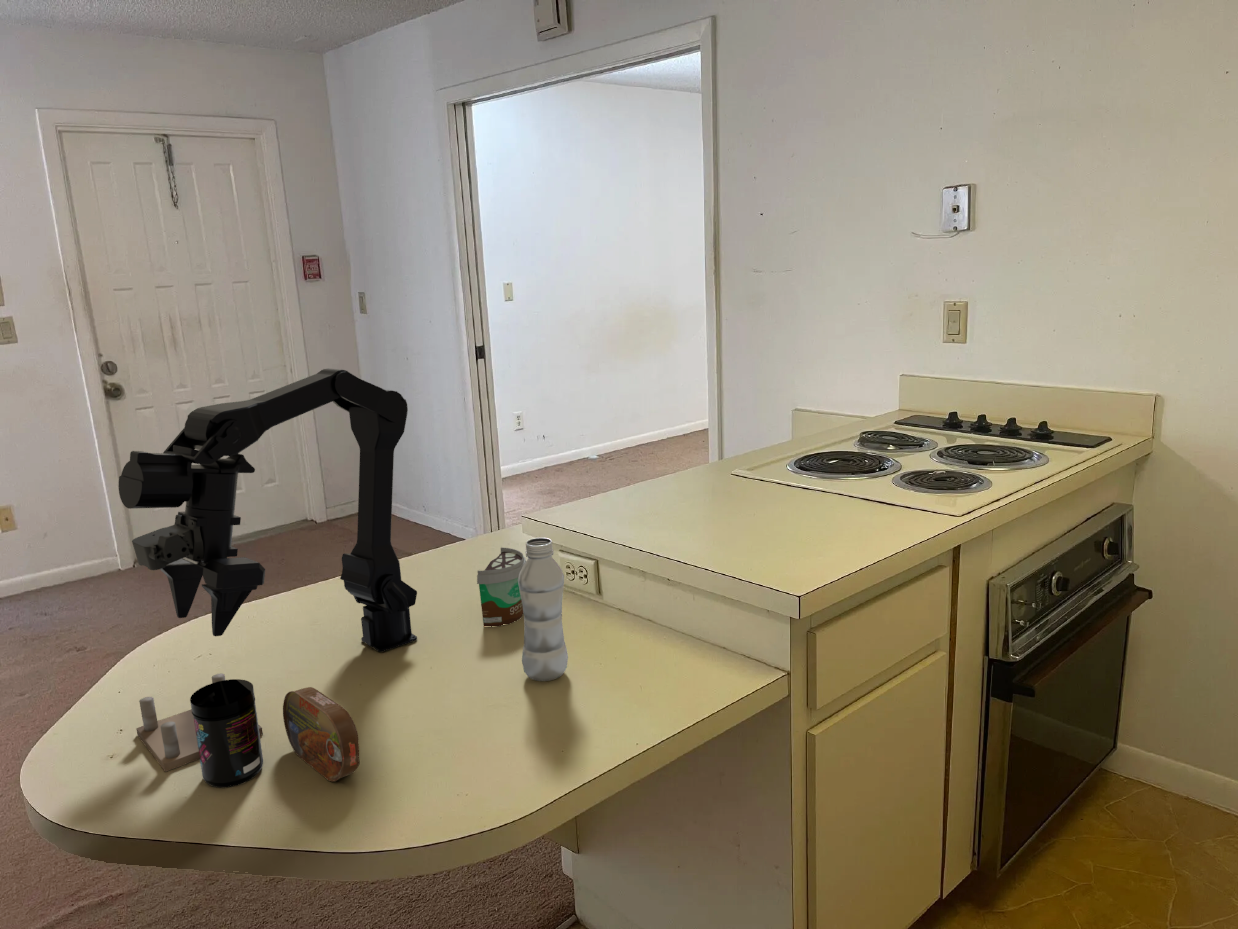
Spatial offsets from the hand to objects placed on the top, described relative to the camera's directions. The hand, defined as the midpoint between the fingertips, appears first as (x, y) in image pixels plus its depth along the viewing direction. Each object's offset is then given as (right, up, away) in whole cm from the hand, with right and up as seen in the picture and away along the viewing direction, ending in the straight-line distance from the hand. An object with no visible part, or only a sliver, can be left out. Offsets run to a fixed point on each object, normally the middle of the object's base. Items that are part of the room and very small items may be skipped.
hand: (199, 626), depth 114 cm
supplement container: (+9, -16, -9) cm, 20 cm away
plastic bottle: (+44, -9, +12) cm, 46 cm away
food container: (+36, -5, +33) cm, 49 cm away
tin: (+19, -15, -8) cm, 25 cm away
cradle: (0, -14, -1) cm, 14 cm away
